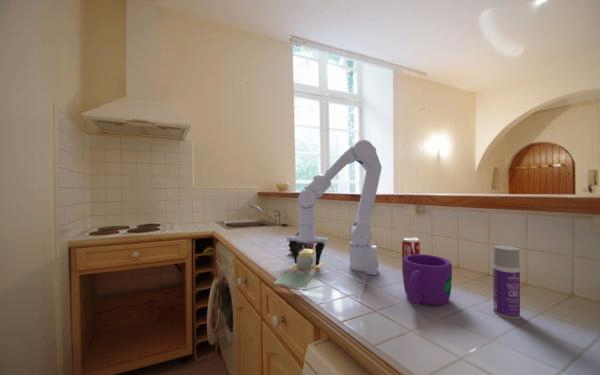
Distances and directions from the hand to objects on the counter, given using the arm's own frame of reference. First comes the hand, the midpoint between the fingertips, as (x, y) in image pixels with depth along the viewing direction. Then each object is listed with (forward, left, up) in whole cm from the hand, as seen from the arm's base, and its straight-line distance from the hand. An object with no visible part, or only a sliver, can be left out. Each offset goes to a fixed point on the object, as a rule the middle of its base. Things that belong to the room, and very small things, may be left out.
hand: (307, 263), depth 90 cm
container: (-52, +17, -2) cm, 55 cm away
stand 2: (0, +13, -2) cm, 13 cm away
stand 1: (0, 0, -2) cm, 2 cm away
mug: (-35, +16, -2) cm, 39 cm away
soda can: (-34, -3, -2) cm, 34 cm away
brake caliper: (+7, -15, -2) cm, 17 cm away
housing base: (0, 0, -1) cm, 1 cm away
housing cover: (0, 0, +3) cm, 3 cm away
